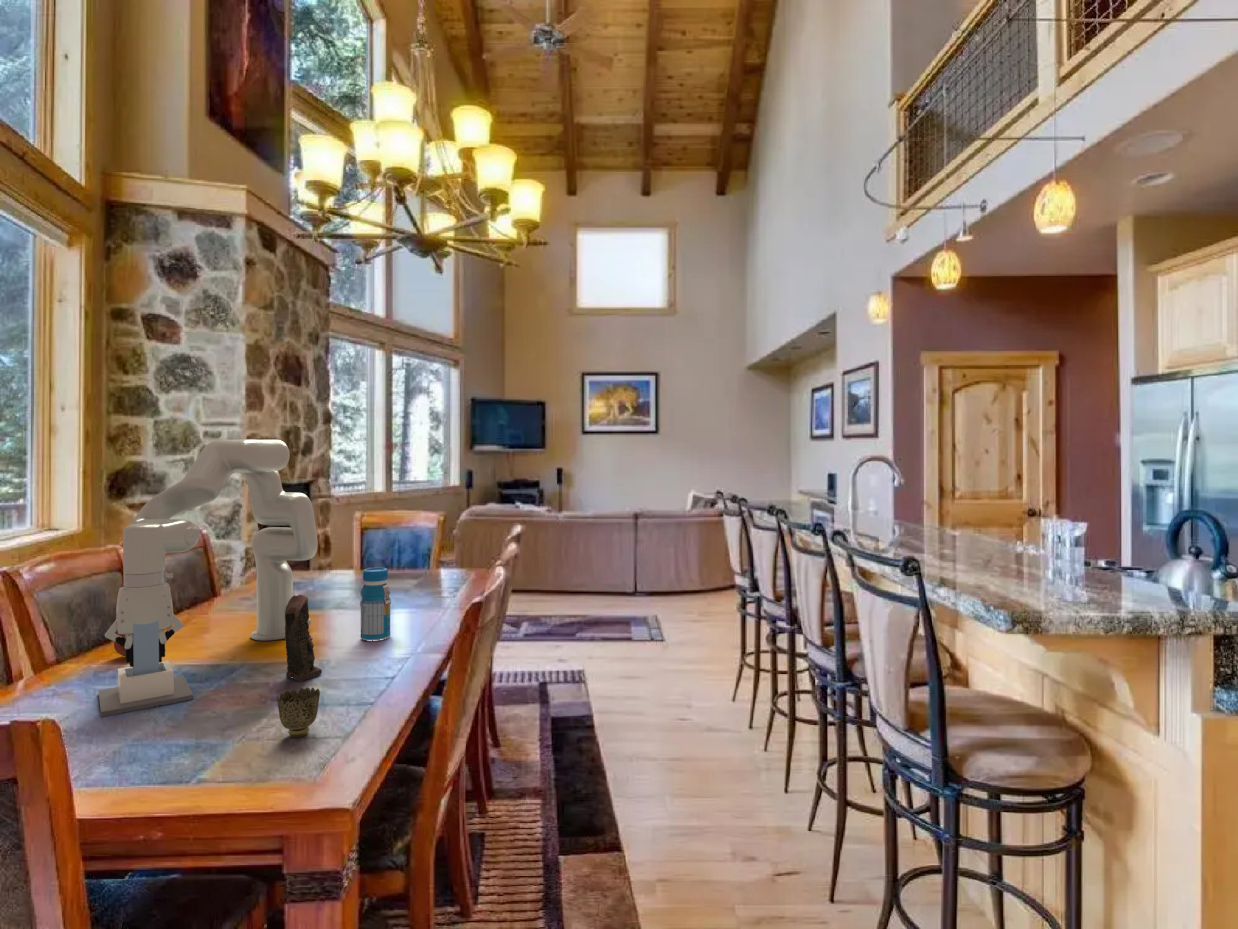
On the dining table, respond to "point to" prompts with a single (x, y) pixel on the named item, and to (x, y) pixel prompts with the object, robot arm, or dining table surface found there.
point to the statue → (299, 640)
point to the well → (144, 690)
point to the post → (145, 648)
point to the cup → (298, 710)
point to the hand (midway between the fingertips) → (145, 662)
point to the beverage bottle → (375, 605)
